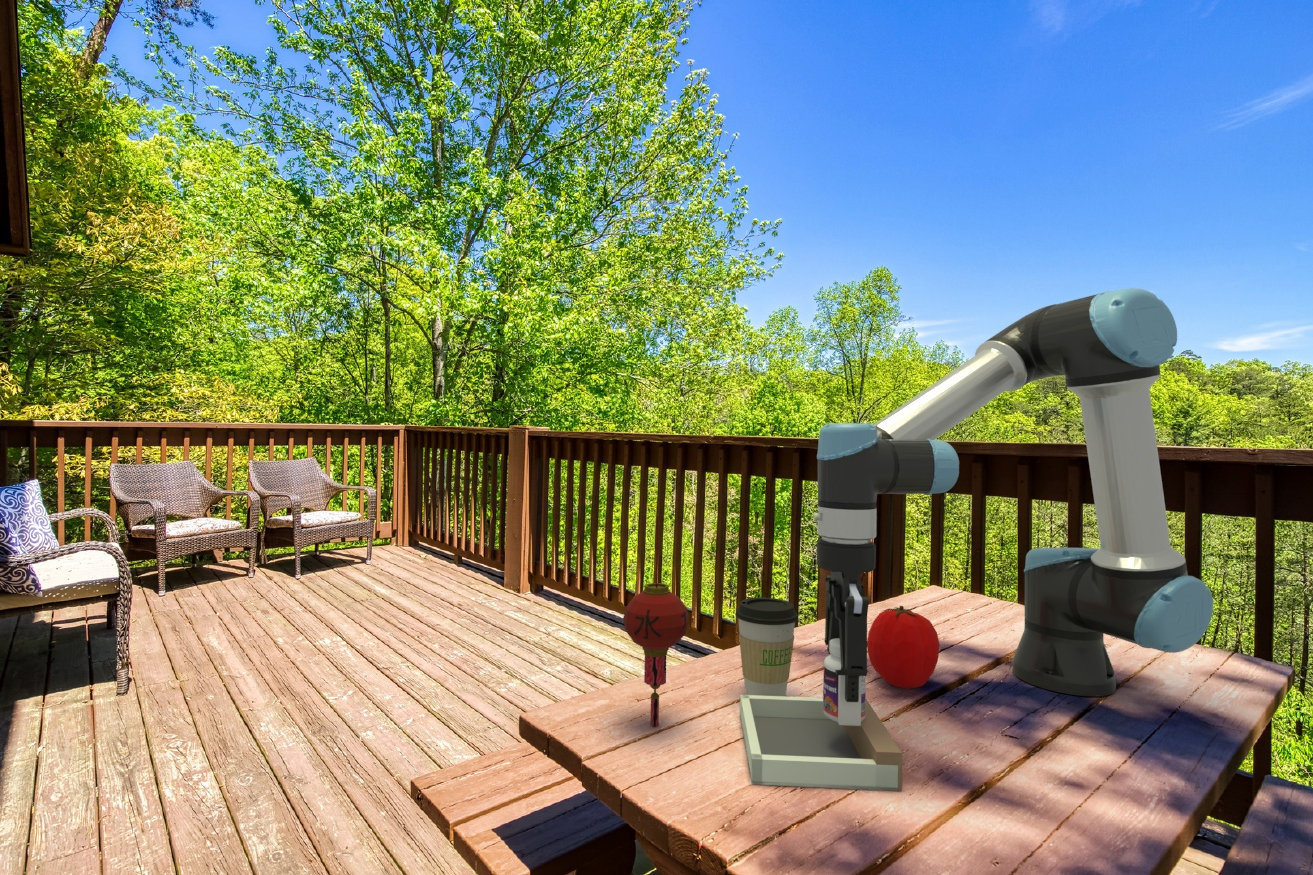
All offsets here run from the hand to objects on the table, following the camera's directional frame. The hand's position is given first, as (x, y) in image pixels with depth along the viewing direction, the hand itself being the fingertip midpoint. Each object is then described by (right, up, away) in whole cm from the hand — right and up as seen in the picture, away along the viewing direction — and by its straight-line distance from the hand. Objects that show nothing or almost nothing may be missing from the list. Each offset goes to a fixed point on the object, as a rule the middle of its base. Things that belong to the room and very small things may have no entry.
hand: (843, 713), depth 83 cm
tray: (-5, -5, 0) cm, 7 cm away
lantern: (-25, -5, +6) cm, 26 cm away
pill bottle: (0, -1, 0) cm, 1 cm away
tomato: (+17, -5, +23) cm, 29 cm away
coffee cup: (-8, -5, +16) cm, 19 cm away
